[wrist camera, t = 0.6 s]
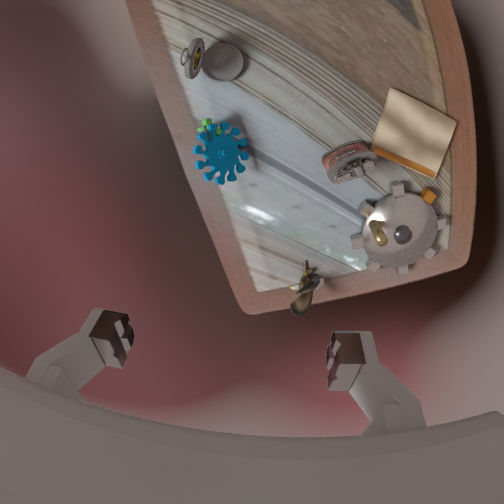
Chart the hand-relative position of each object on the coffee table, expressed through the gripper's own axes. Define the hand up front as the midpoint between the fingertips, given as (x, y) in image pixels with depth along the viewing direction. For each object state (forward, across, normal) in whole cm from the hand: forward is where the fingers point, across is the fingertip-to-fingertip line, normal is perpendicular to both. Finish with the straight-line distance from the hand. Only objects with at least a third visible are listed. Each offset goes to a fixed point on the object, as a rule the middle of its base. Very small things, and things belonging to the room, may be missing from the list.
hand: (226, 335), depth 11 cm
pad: (+42, -25, -2) cm, 49 cm away
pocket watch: (+42, +8, -12) cm, 45 cm away
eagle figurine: (+42, -9, +29) cm, 52 cm away
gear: (+43, +5, +2) cm, 44 cm away
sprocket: (+42, -26, +16) cm, 52 cm away
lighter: (+42, -13, +3) cm, 44 cm away
